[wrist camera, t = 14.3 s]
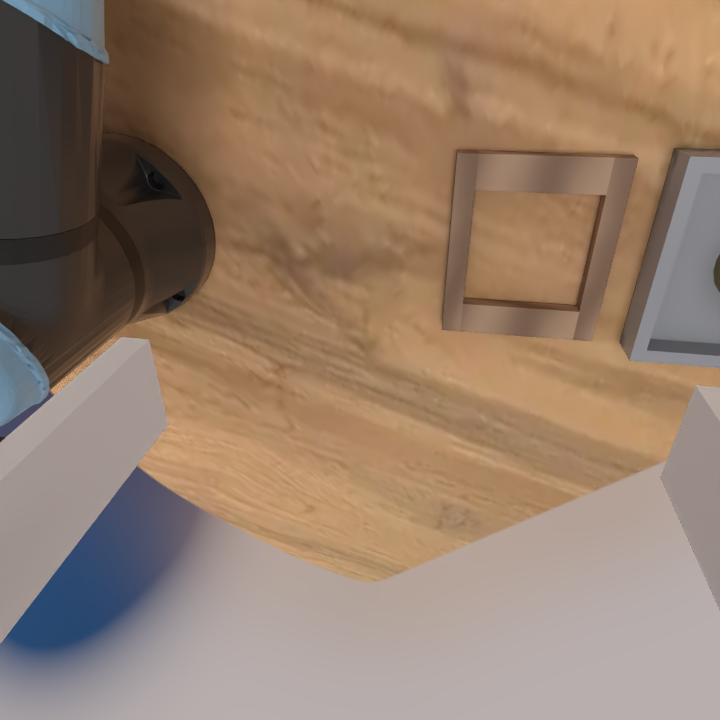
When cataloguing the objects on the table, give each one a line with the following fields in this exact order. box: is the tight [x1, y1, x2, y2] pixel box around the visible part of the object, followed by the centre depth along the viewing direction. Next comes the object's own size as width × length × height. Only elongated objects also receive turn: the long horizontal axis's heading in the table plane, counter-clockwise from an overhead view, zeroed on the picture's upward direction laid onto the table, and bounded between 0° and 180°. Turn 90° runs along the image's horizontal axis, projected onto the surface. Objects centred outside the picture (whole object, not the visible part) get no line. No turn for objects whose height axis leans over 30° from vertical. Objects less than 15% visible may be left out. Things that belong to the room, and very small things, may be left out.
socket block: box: [442, 150, 638, 341], centre depth 41 cm, size 12×14×1 cm
